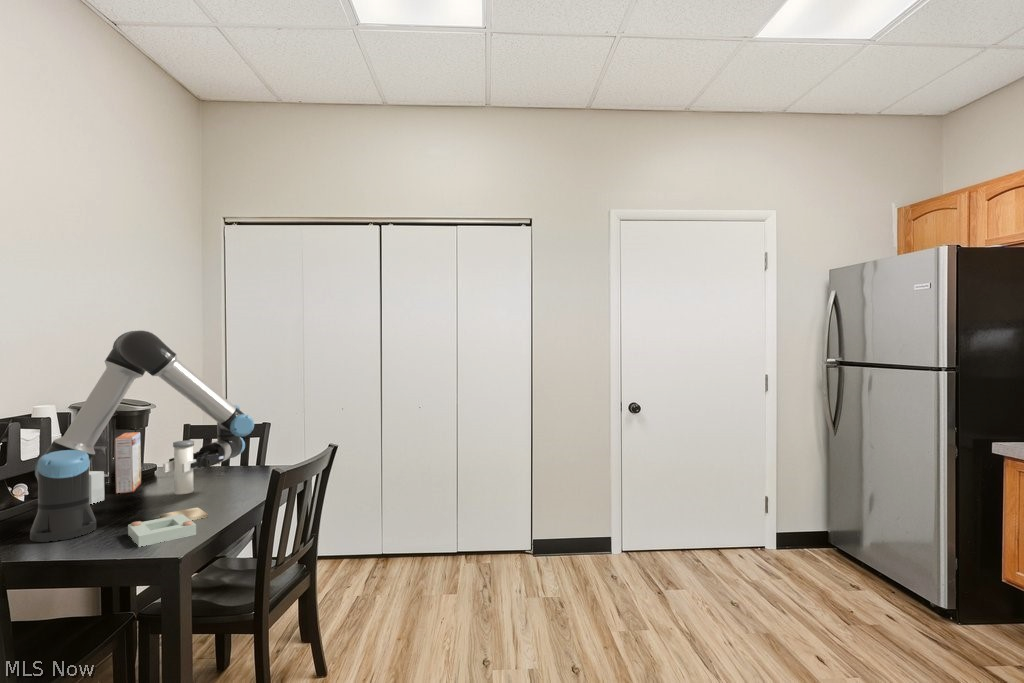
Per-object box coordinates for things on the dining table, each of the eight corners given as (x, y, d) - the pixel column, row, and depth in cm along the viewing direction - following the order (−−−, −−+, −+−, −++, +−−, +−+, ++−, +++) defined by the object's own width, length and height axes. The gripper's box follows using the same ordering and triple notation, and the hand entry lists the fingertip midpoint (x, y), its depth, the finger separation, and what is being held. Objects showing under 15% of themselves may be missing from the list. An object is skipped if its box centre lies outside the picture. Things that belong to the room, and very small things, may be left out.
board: (168, 525, 169) (168, 522, 169) (159, 517, 177) (159, 514, 177) (207, 517, 176) (207, 514, 176) (197, 510, 184) (197, 507, 184)
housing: (138, 547, 150) (138, 534, 150) (128, 535, 160) (128, 522, 160) (196, 534, 160) (196, 522, 160) (182, 523, 170) (182, 512, 170)
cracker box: (123, 485, 218) (123, 432, 218) (141, 484, 220) (141, 431, 221) (114, 494, 205) (114, 437, 205) (133, 492, 208) (133, 436, 208)
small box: (104, 500, 197) (104, 471, 197) (91, 505, 191) (91, 474, 191) (84, 500, 198) (84, 470, 198) (70, 504, 192) (70, 474, 192)
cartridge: (176, 495, 173) (175, 444, 173) (171, 492, 177) (170, 442, 177) (196, 491, 177) (196, 441, 177) (191, 488, 181) (191, 439, 181)
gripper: (240, 463, 195) (202, 480, 171) (188, 464, 195) (144, 480, 171) (240, 442, 195) (202, 455, 171) (188, 442, 195) (144, 456, 171)
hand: (173, 468), depth 171 cm, fingers closed on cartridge, 5 cm apart
